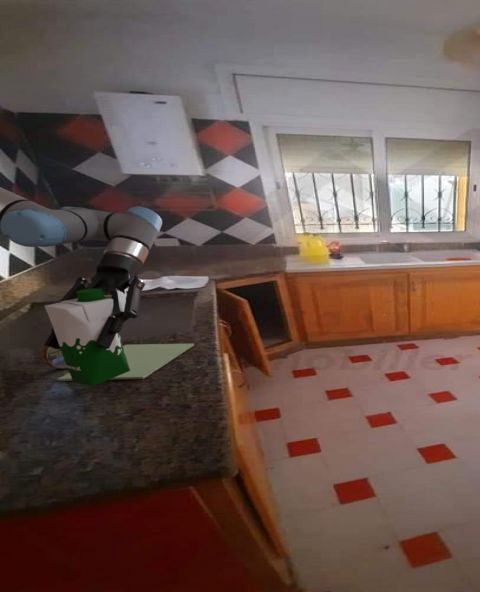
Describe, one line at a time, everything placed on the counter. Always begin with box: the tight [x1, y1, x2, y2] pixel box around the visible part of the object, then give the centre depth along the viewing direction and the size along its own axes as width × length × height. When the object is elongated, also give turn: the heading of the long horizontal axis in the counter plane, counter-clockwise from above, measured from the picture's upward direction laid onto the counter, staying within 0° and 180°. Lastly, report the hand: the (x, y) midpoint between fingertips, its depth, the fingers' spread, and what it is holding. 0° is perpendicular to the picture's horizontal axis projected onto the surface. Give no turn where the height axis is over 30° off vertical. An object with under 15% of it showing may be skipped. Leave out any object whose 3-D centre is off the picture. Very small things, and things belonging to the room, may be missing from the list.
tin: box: [40, 344, 68, 370], centre depth 87 cm, size 15×3×8 cm, turn 170°
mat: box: [57, 343, 195, 382], centre depth 88 cm, size 20×20×1 cm
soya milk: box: [44, 288, 130, 387], centre depth 70 cm, size 9×9×20 cm
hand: (77, 346), depth 67 cm, fingers closed on soya milk, 9 cm apart
